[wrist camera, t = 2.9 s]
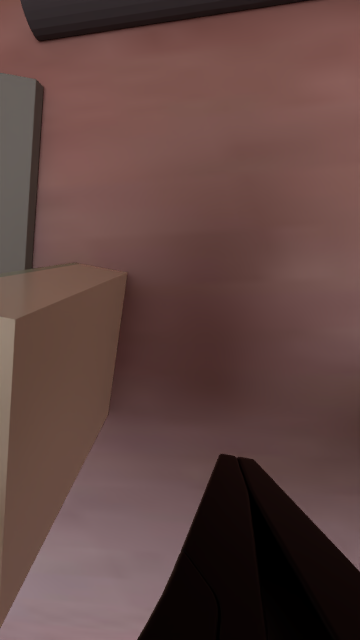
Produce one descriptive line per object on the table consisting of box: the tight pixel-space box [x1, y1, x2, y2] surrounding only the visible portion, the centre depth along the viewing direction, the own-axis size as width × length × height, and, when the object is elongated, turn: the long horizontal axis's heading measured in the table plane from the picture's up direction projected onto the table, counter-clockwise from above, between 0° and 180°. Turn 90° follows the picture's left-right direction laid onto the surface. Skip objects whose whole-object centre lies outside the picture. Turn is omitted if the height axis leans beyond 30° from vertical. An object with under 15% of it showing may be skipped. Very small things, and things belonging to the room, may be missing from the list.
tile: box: [0, 263, 128, 628], centre depth 10 cm, size 2×7×9 cm, turn 170°
